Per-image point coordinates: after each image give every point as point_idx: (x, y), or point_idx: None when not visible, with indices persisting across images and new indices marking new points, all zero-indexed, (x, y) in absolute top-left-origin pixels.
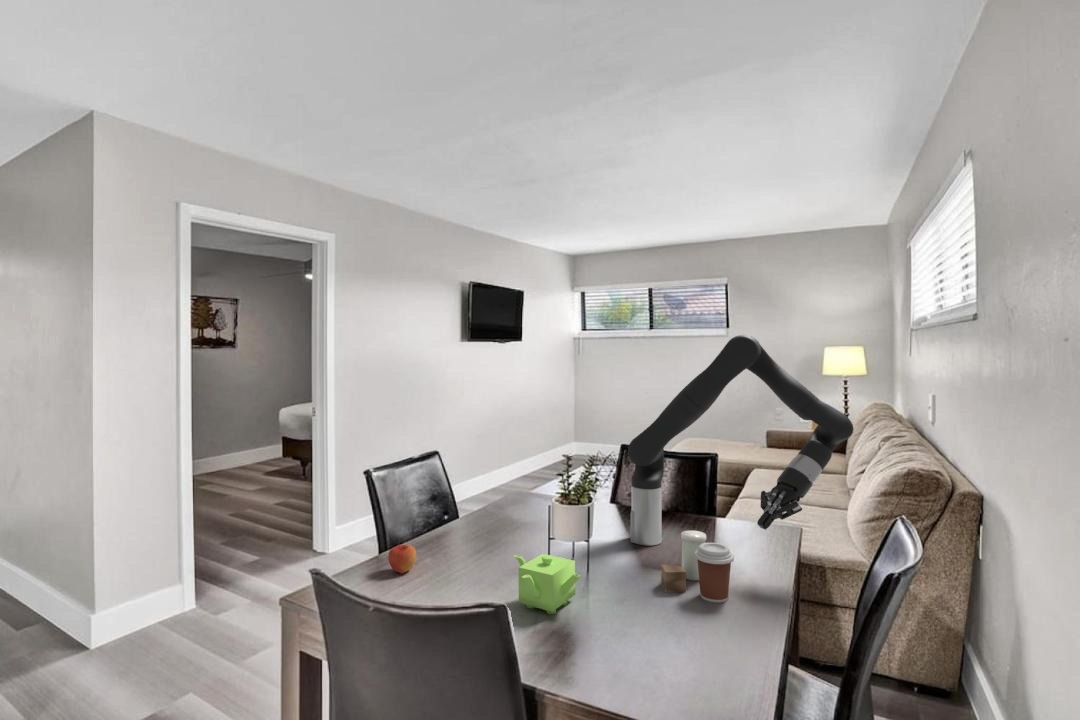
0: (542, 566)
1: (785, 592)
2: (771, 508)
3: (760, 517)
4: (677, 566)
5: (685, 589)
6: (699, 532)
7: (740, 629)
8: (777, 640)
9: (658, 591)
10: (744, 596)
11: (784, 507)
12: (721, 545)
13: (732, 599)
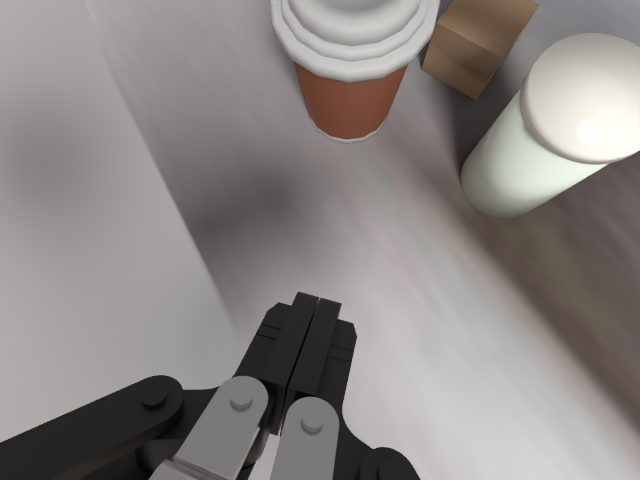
0: None
1: (228, 314)
2: (246, 441)
3: (350, 363)
4: (492, 35)
5: (423, 63)
6: (610, 139)
7: (189, 16)
8: (103, 40)
9: None
10: (294, 179)
11: (45, 459)
12: (350, 12)
13: (304, 134)
